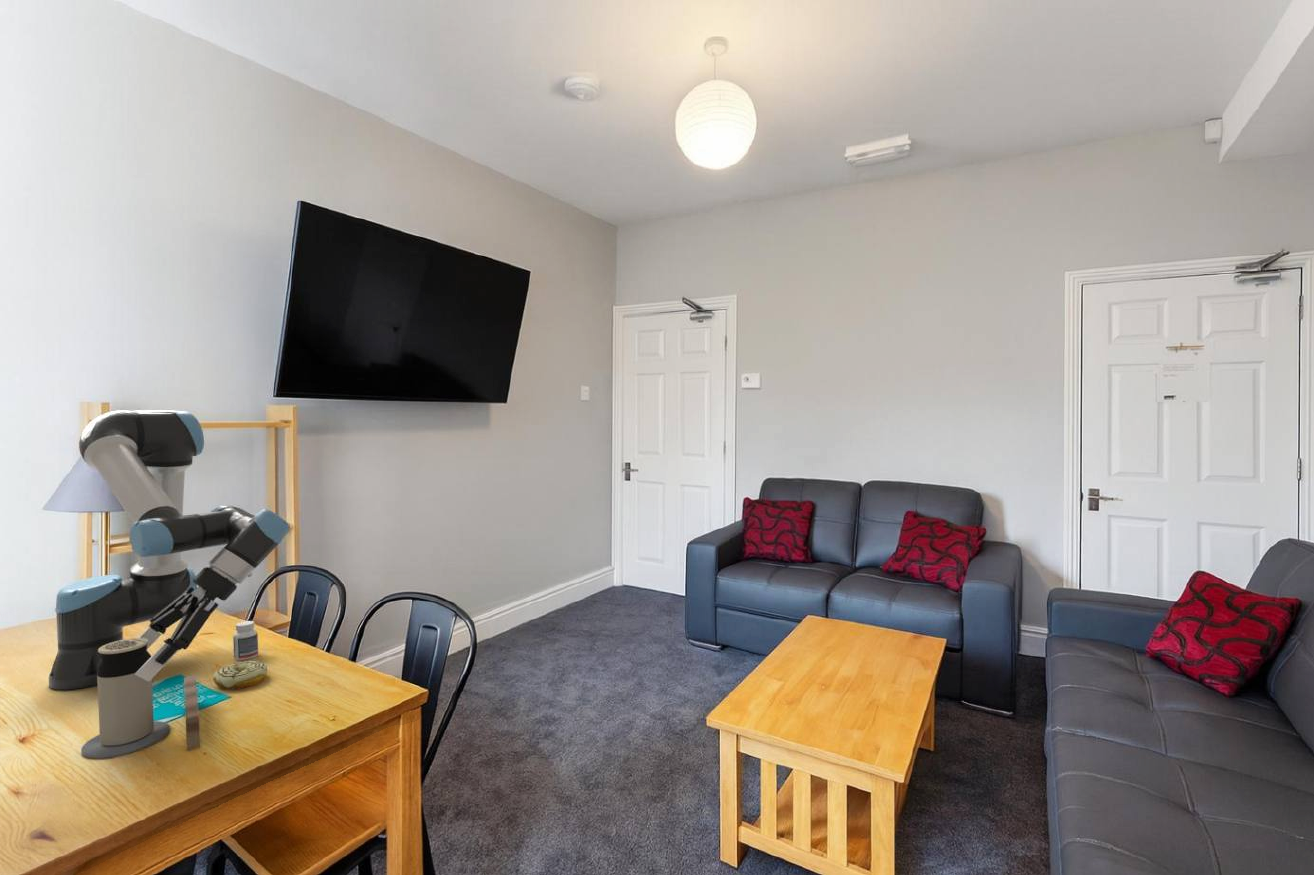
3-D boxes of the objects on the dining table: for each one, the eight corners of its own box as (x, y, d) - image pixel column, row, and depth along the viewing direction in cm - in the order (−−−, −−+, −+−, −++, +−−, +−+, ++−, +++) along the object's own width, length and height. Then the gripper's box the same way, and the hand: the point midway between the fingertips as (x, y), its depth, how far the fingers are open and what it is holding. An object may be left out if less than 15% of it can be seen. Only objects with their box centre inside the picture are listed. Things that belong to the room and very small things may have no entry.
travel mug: (109, 751, 115) (105, 655, 115) (93, 740, 119) (89, 647, 119) (161, 733, 122) (157, 641, 121) (144, 722, 126) (141, 634, 126)
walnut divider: (200, 747, 118) (199, 715, 117) (186, 750, 116) (185, 718, 116) (196, 702, 137) (195, 675, 136) (185, 704, 135) (184, 677, 135)
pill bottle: (263, 654, 164) (262, 621, 164) (244, 661, 159) (243, 627, 159) (248, 652, 166) (247, 619, 166) (229, 659, 161) (228, 625, 161)
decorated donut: (225, 696, 140) (225, 679, 140) (206, 685, 146) (205, 669, 146) (275, 680, 148) (275, 664, 148) (255, 669, 155) (254, 654, 154)
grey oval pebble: (61, 760, 113) (61, 757, 113) (118, 725, 126) (118, 722, 126) (136, 757, 114) (136, 753, 114) (185, 722, 127) (185, 719, 127)
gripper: (257, 596, 125) (167, 695, 114) (220, 575, 142) (138, 661, 131) (225, 575, 121) (128, 676, 110) (191, 556, 137) (103, 643, 127)
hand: (133, 668), depth 120 cm, fingers open, 13 cm apart
